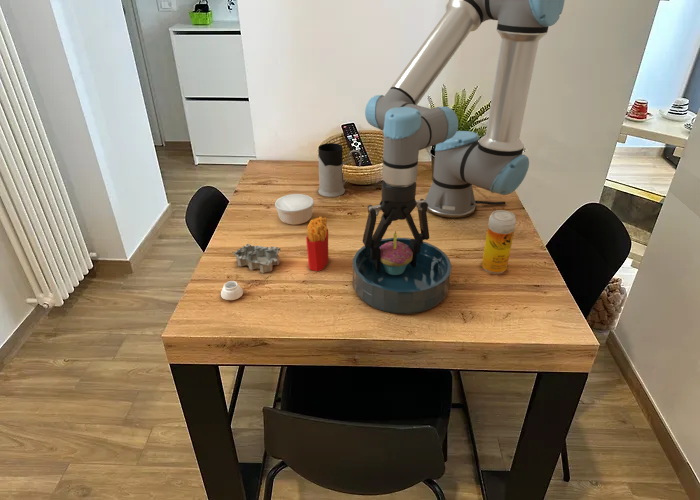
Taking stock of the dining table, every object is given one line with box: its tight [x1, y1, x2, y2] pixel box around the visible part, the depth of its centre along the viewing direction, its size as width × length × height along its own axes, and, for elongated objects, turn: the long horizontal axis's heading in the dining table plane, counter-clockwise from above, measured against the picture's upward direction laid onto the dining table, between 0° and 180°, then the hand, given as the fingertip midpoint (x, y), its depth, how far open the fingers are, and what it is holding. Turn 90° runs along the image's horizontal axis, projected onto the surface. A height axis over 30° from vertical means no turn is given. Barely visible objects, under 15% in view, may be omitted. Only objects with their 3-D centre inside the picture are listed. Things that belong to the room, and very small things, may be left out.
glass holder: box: [317, 142, 363, 198], centre depth 159 cm, size 9×14×15 cm, turn 94°
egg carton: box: [232, 243, 282, 274], centre depth 126 cm, size 11×8×4 cm
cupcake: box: [380, 230, 413, 275], centre depth 118 cm, size 9×8×12 cm
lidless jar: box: [220, 280, 244, 301], centre depth 115 cm, size 5×3×5 cm
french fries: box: [305, 216, 329, 272], centre depth 123 cm, size 8×4×12 cm, turn 161°
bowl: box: [352, 237, 453, 315], centre depth 117 cm, size 23×23×6 cm
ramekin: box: [274, 193, 315, 226], centre depth 146 cm, size 11×11×5 cm
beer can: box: [481, 209, 517, 275], centre depth 120 cm, size 6×6×15 cm
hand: (394, 266), depth 121 cm, fingers closed on cupcake, 8 cm apart
